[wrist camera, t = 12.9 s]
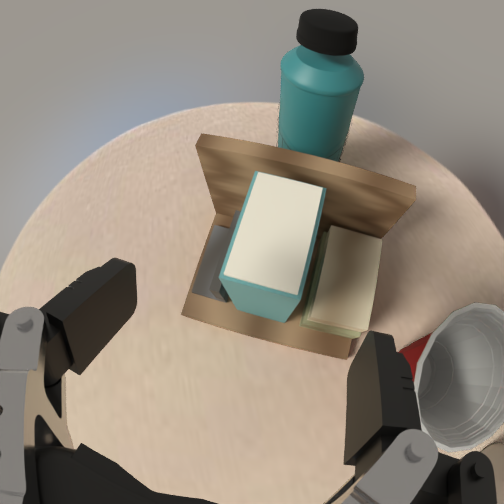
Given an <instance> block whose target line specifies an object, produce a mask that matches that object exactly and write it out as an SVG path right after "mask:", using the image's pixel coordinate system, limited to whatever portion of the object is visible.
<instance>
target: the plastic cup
mask: <svg viewBox="0 0 504 504" xmlns="http://www.w3.org/2000/svg"><path fill="white" fill-rule="evenodd" d="M398 353H402V354H403V355H404V357H405V358H406V360H407V361H408V363H409V364H410V367H411V372H412V376H413V379H412V381H414V386H415V390H414V391H415V392H416V397H417V403H418V409H419V415H420V421H421V428H422V431H423V432H425V433H427V434H428V435H429V436H430V437H431V438H432V439H433V440H434V442H435V444H436V446H437V447H438V448H440V449H442V450H444V451H447V452H456V451H463V450H470V449H472V448H474V447H475V446H477V445H479V444H480V443H482V442H484V441H485V440H487V439H488V438H490V437H491V436H493V434H494V433H495V432H496V431H497V430H498V429H499V427H500V426H501V425H502V424H503V423H504V311H502V310H501V309H500V308H498V307H497V306H496V305H492V304H484V303H476V302H475V303H472V304H470V305H468V306H465V307H463V308H461V309H458V310H456V311H454V312H452V313H451V314H450V315H449V316H448V317H447V318H446V320H445V321H444V322H443V323H442V324H441V325H440V326H439V327H438V328H437V329H436V330H435V331H434V332H432V333H430V334H429V335H427V336H425V337H423V338H421V339H419V340H417V341H415V342H413V343H412V344H411V345H409V346H407V347H405V348H403V349H402V350H400V351H399V352H398Z"/></svg>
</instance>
